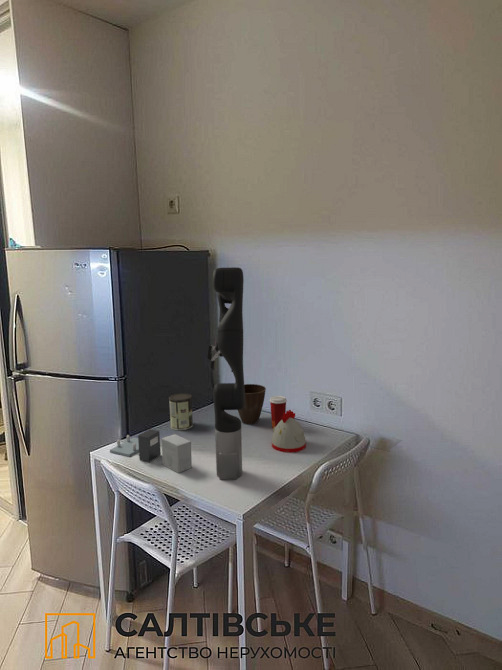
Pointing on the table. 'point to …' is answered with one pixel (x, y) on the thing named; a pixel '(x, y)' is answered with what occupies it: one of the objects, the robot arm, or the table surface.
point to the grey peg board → (126, 447)
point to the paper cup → (277, 409)
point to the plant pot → (252, 403)
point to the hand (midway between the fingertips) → (222, 370)
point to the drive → (149, 445)
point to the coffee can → (181, 411)
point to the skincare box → (176, 453)
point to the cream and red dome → (288, 434)
